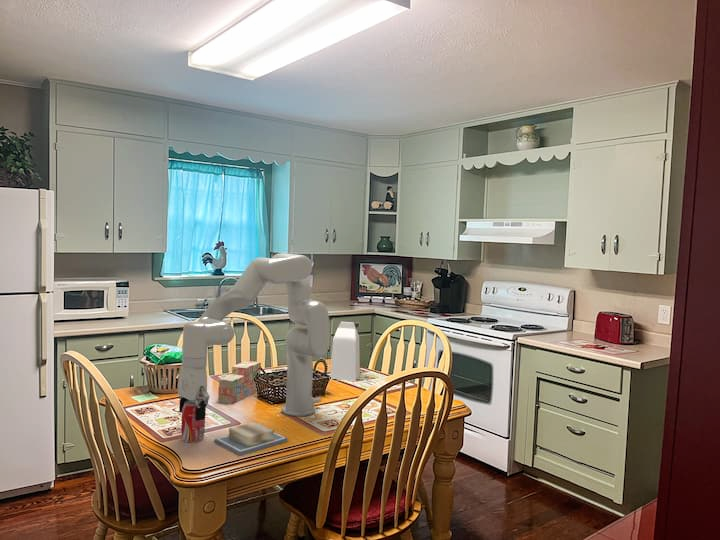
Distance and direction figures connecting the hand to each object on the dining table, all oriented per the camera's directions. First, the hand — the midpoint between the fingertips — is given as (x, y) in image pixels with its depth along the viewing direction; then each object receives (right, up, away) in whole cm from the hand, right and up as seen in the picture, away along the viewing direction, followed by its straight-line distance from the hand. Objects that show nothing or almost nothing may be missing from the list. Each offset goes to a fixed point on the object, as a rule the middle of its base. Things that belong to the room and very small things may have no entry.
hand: (192, 415), depth 176 cm
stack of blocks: (+5, -5, +49) cm, 49 cm away
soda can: (0, -8, +1) cm, 8 cm away
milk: (+46, -5, +85) cm, 96 cm away
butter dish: (+18, -9, +1) cm, 20 cm away
